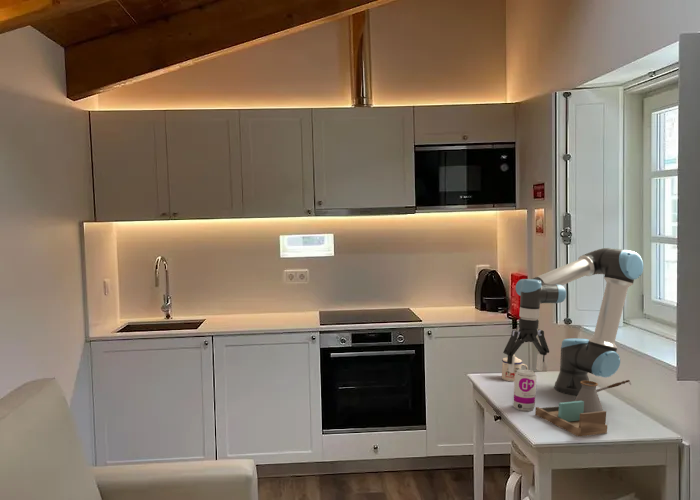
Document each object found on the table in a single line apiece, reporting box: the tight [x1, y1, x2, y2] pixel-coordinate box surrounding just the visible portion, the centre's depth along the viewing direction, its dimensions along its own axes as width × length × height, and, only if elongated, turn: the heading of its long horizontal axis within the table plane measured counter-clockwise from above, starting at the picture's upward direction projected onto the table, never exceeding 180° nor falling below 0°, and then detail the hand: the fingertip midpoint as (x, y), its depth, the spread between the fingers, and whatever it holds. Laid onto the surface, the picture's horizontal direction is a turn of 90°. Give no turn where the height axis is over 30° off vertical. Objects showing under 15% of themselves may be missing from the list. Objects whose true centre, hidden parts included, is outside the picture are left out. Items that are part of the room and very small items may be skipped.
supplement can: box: [512, 368, 537, 412], centre depth 258 cm, size 8×8×15 cm
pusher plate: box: [558, 400, 584, 422], centre depth 242 cm, size 2×10×7 cm, turn 111°
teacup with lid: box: [501, 354, 529, 382], centre depth 301 cm, size 12×9×12 cm
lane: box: [534, 405, 608, 437], centre depth 242 cm, size 24×13×8 cm, turn 21°
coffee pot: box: [574, 379, 632, 413], centre depth 252 cm, size 21×12×15 cm, turn 83°
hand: (525, 371), depth 257 cm, fingers open, 13 cm apart
